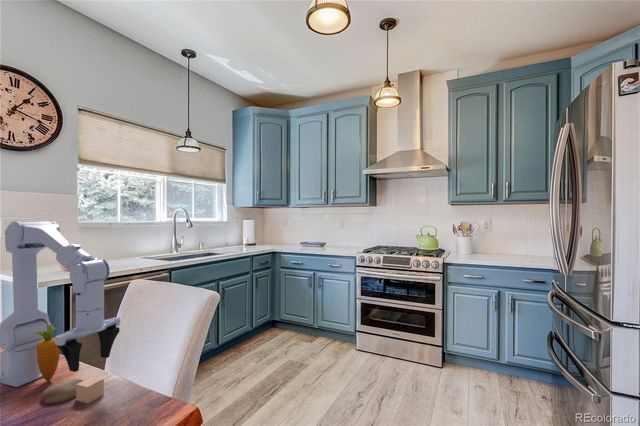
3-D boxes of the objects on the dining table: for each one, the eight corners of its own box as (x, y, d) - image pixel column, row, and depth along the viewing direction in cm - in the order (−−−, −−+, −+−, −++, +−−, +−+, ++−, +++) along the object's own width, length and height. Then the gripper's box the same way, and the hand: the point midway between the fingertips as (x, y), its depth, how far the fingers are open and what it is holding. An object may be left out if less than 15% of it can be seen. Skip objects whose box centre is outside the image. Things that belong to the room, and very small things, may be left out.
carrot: (46, 386, 83) (46, 329, 84) (31, 385, 84) (31, 328, 85) (65, 377, 88) (64, 323, 89) (50, 375, 89) (50, 322, 90)
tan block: (76, 400, 77) (76, 384, 77) (92, 392, 81) (92, 376, 81) (87, 403, 76) (87, 387, 76) (103, 394, 80) (103, 378, 80)
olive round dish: (35, 401, 78) (35, 392, 78) (70, 384, 85) (70, 377, 85) (56, 407, 75) (56, 398, 75) (91, 389, 82) (91, 381, 82)
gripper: (69, 319, 70) (69, 380, 70) (128, 302, 84) (128, 353, 84) (48, 316, 73) (48, 375, 73) (109, 300, 86) (109, 350, 86)
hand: (90, 363), depth 78 cm, fingers open, 7 cm apart
